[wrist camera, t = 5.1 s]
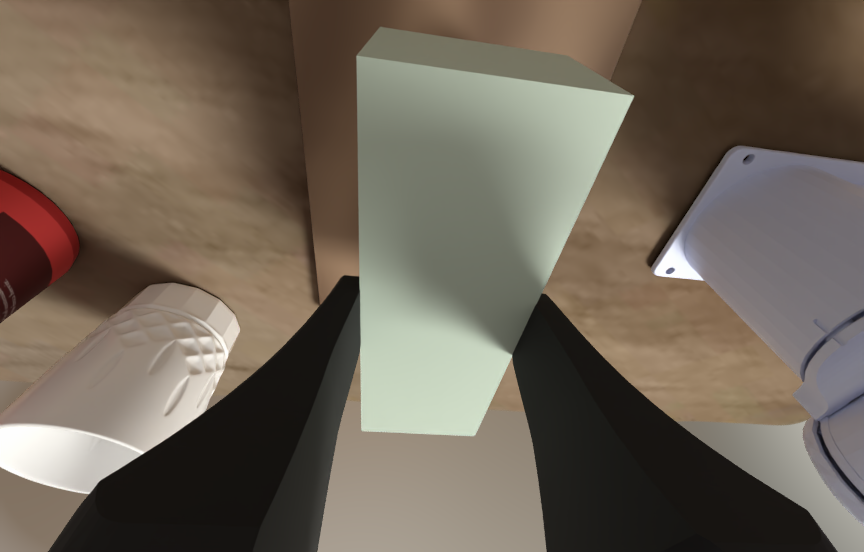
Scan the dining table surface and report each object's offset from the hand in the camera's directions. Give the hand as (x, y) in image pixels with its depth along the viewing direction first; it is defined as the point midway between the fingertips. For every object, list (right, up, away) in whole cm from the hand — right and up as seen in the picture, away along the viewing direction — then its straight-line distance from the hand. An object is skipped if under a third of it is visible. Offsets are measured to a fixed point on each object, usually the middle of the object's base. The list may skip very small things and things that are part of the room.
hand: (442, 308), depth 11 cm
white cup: (-17, -2, +14) cm, 22 cm away
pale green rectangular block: (0, +2, +3) cm, 3 cm away
